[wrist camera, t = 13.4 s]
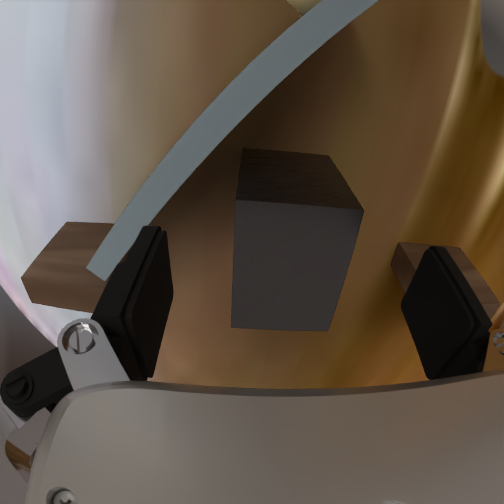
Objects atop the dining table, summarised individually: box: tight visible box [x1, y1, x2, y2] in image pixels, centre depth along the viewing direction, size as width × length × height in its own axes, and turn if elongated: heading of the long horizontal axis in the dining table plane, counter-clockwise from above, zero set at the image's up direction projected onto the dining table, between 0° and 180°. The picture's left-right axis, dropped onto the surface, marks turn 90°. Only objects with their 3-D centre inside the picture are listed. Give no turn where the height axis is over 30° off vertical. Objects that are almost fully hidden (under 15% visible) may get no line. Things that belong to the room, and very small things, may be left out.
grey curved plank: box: [86, 0, 379, 281], centre depth 13 cm, size 2×18×6 cm, turn 137°
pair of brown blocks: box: [21, 222, 500, 319], centre depth 18 cm, size 2×30×6 cm, turn 86°
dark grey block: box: [231, 148, 364, 331], centre depth 17 cm, size 7×5×7 cm
